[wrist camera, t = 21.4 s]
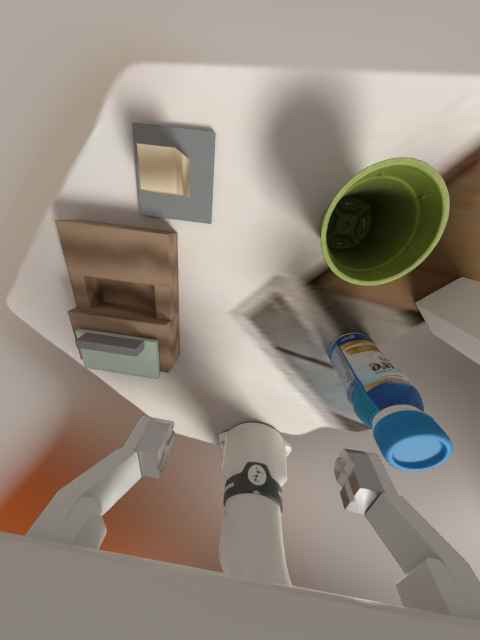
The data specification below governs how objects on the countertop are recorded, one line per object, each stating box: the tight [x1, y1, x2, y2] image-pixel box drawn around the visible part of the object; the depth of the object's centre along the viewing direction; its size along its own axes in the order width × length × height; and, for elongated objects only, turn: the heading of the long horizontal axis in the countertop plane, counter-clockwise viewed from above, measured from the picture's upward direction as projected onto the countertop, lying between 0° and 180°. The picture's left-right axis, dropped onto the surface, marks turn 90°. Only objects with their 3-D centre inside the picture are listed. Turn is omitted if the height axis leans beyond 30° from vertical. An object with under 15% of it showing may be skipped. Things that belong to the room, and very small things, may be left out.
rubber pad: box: [132, 123, 215, 224], centre depth 30 cm, size 11×11×1 cm
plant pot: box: [320, 158, 450, 285], centre depth 26 cm, size 12×12×11 cm
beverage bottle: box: [329, 333, 453, 471], centre depth 32 cm, size 8×8×20 cm
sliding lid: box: [75, 329, 160, 379], centre depth 37 cm, size 8×14×3 cm, turn 84°
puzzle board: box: [55, 220, 180, 373], centre depth 37 cm, size 24×17×6 cm
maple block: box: [137, 144, 190, 197], centre depth 28 cm, size 4×4×6 cm
